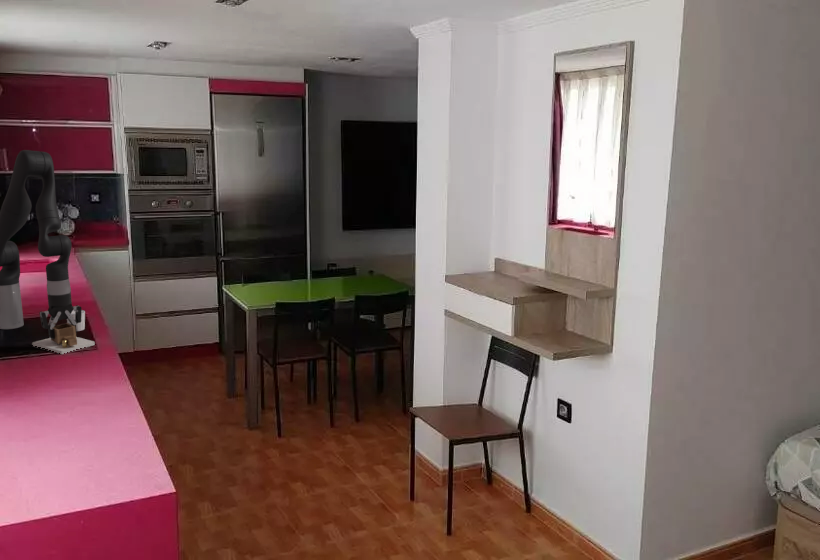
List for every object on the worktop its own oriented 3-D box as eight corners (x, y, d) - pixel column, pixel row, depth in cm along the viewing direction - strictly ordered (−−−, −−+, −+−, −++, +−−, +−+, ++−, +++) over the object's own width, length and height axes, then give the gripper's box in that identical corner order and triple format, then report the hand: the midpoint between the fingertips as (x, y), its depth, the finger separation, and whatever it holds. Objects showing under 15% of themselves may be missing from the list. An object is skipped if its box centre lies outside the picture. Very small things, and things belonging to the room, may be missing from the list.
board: (32, 345, 261) (32, 342, 261) (65, 336, 272) (65, 333, 271) (61, 354, 252) (61, 351, 252) (94, 344, 263) (94, 341, 263)
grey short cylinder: (79, 332, 278) (77, 314, 276) (63, 331, 279) (61, 313, 277) (90, 327, 284) (88, 310, 283) (74, 326, 286) (73, 308, 284)
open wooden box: (51, 339, 261) (49, 326, 260) (69, 336, 266) (67, 322, 265) (64, 347, 254) (63, 333, 252) (82, 343, 258) (81, 329, 257)
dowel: (61, 347, 256) (60, 340, 255) (65, 346, 257) (65, 339, 257) (64, 348, 255) (63, 341, 255) (68, 347, 256) (67, 340, 256)
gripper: (75, 286, 265) (79, 330, 269) (33, 293, 255) (38, 338, 259) (84, 290, 260) (87, 335, 264) (41, 296, 250) (46, 343, 254)
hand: (63, 336), depth 261 cm, fingers closed on open wooden box, 6 cm apart
